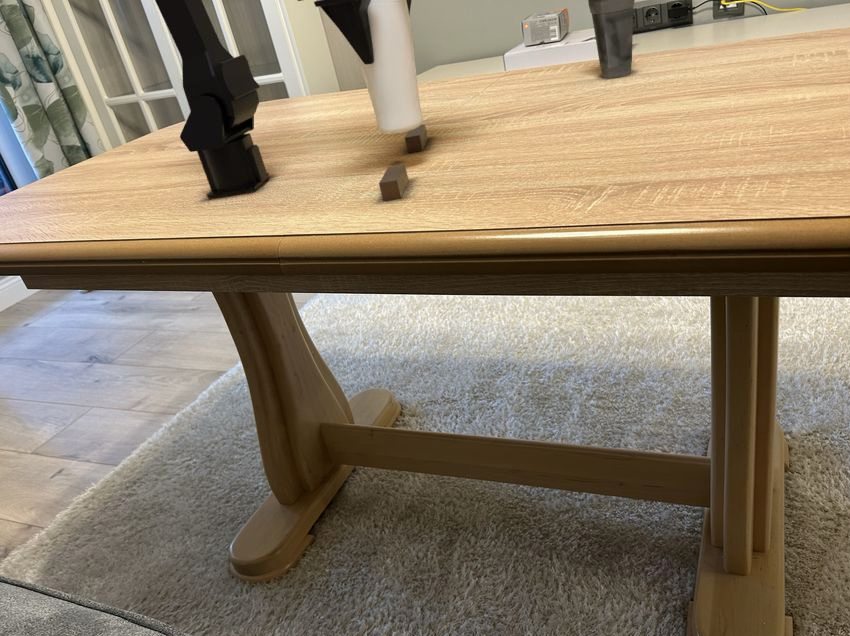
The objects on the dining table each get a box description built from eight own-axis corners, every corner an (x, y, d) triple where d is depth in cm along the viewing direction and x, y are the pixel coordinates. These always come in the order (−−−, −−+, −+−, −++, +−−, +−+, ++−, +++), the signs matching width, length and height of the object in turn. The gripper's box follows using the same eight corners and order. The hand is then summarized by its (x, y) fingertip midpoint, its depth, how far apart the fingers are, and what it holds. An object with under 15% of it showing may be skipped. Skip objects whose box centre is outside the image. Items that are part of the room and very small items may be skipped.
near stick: (401, 198, 75) (396, 180, 74) (383, 201, 76) (378, 183, 75) (408, 181, 81) (405, 164, 80) (391, 183, 81) (387, 166, 80)
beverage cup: (585, 77, 114) (572, -64, 104) (626, 67, 115) (617, -74, 105) (606, 82, 108) (595, -68, 98) (649, 71, 109) (642, -78, 99)
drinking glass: (421, 133, 80) (392, -15, 72) (365, 140, 81) (331, -4, 74) (436, 118, 85) (410, -21, 78) (383, 124, 87) (353, -10, 79)
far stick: (422, 150, 92) (419, 135, 91) (407, 152, 92) (404, 137, 91) (428, 138, 97) (425, 124, 96) (413, 141, 97) (410, 126, 96)
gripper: (364, -120, 61) (403, 70, 69) (463, -125, 74) (485, 34, 82) (268, -95, 66) (314, 78, 74) (377, -104, 80) (406, 43, 87)
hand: (386, 57), depth 79 cm, fingers closed on drinking glass, 6 cm apart
